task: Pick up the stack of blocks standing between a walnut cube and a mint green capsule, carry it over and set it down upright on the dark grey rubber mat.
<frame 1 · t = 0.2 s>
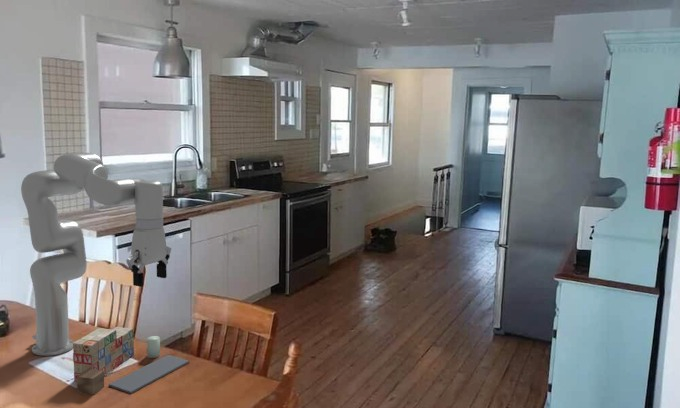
hand: (150, 281, 160), 31 cm above the table, tool pointing down, fingers open, 9 cm apart
mint green capsule: (153, 355, 181), on the table
walnut cube: (91, 390, 157), on the table
mat: (151, 373, 168), on the table
stack of blocks: (105, 368, 171), on the table
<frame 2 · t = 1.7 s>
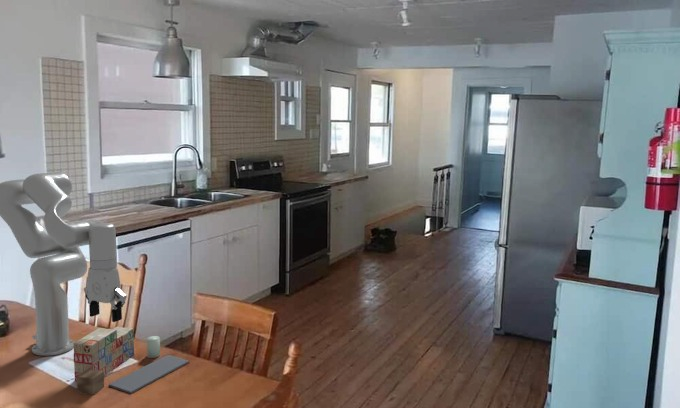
hand: (105, 318, 169), 16 cm above the table, tool pointing down, fingers open, 9 cm apart
nothing on the table moved.
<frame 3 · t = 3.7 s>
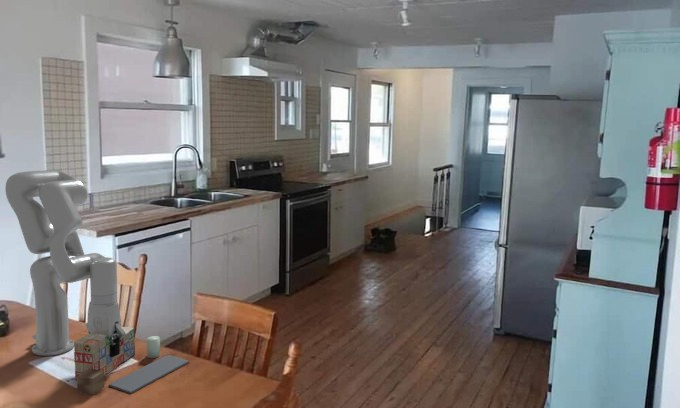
hand: (105, 352, 171), 5 cm above the table, tool pointing down, fingers closed on stack of blocks, 7 cm apart
stack of blocks: (106, 367, 172), on the table, touching gripper
everything else where it was.
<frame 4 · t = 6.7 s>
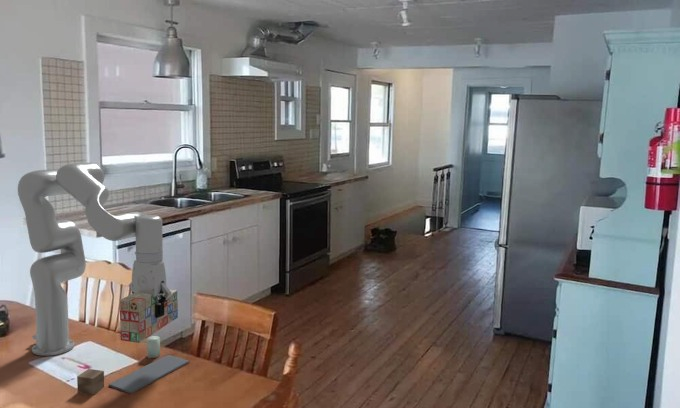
hand: (150, 313, 166), 19 cm above the table, tool pointing down, fingers closed on stack of blocks, 7 cm apart
stack of blocks: (150, 329, 167), point 14 cm above the table, touching gripper
everything else where it was.
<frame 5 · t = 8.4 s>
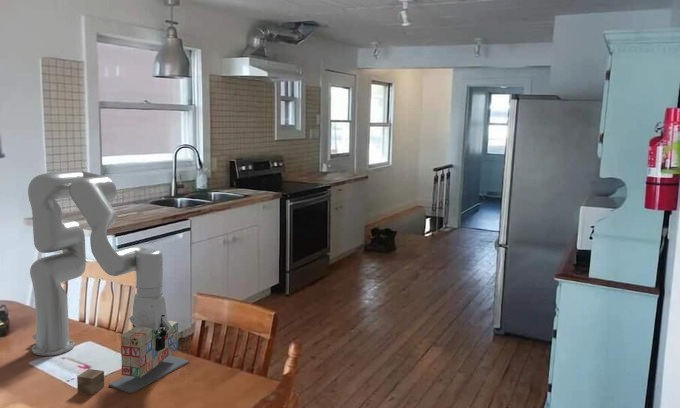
hand: (150, 346, 167), 9 cm above the table, tool pointing down, fingers closed on stack of blocks, 7 cm apart
stack of blocks: (151, 362, 168), point 4 cm above the table, touching gripper
everything else where it was.
when the fingers open (7 cm above the table, at t = 9.8 s): stack of blocks drops 1 cm, resting on mat.
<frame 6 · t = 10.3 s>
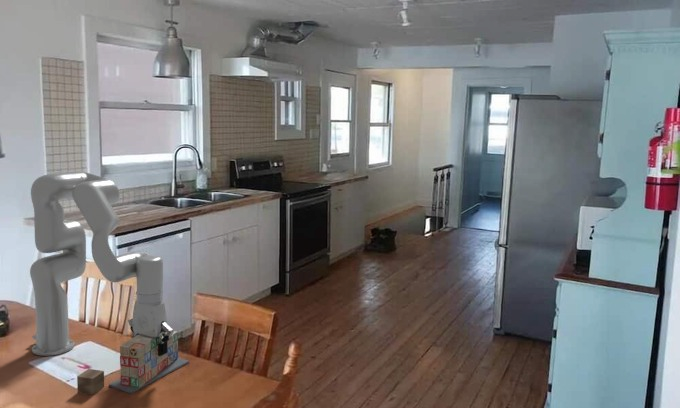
hand: (150, 351, 167), 7 cm above the table, tool pointing down, fingers open, 9 cm apart
stack of blocks: (151, 371, 169), resting on mat
everything else where it was.
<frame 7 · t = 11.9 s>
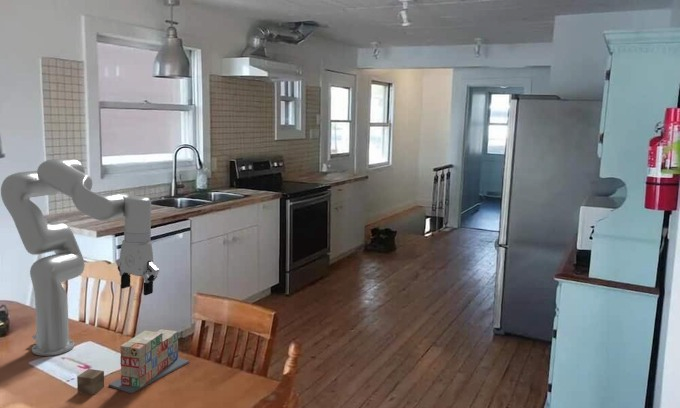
hand: (136, 290, 170), 25 cm above the table, tool pointing down, fingers open, 9 cm apart
nothing on the table moved.
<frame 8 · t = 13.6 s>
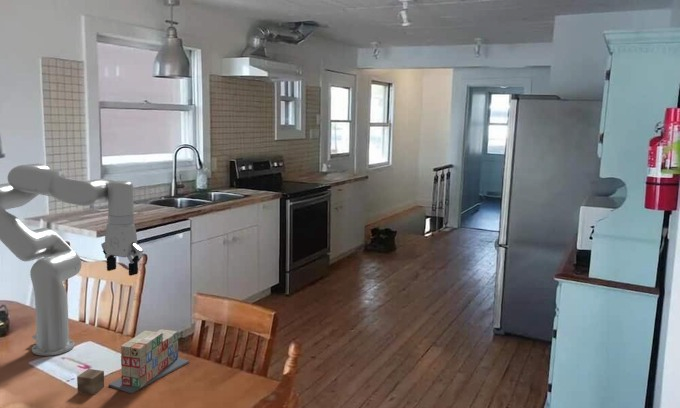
hand: (122, 272, 176), 28 cm above the table, tool pointing down, fingers open, 9 cm apart
nothing on the table moved.
at the end: stack of blocks inside the target area on the mat (0.4 cm from its centre), point 0.4 cm above the mat's base; stack of blocks tilted 0°; the gripper is holding nothing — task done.
